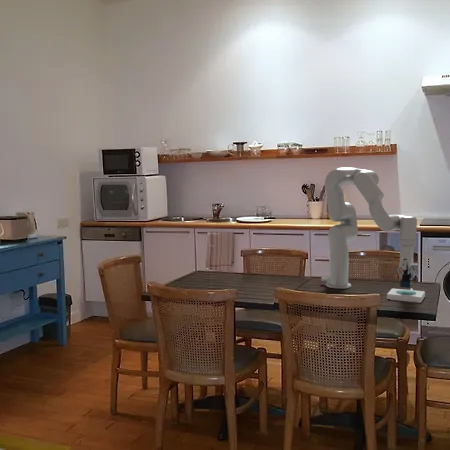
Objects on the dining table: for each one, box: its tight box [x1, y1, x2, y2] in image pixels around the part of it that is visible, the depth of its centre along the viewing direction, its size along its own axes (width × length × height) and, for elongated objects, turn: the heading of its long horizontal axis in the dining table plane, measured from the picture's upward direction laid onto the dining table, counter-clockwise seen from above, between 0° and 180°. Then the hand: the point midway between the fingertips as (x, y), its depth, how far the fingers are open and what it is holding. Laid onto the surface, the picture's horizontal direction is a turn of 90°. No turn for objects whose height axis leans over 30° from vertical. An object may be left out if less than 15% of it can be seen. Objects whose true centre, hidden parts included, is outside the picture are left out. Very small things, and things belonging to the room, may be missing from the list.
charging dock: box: [386, 287, 426, 304], centre depth 274 cm, size 15×24×3 cm, turn 154°
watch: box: [397, 264, 417, 289], centre depth 268 cm, size 6×8×11 cm
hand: (406, 281), depth 269 cm, fingers closed on watch, 3 cm apart
